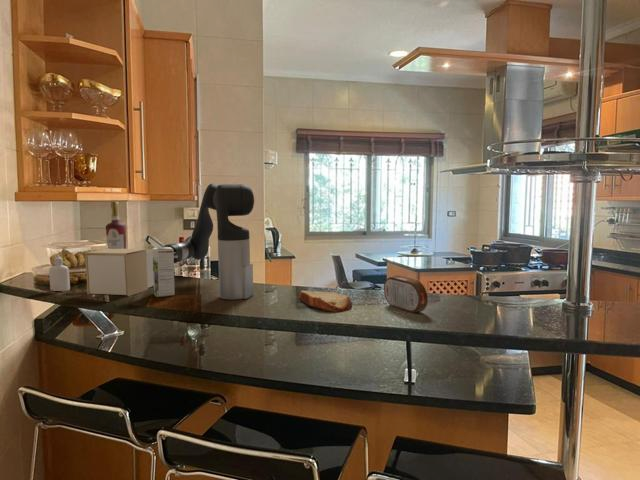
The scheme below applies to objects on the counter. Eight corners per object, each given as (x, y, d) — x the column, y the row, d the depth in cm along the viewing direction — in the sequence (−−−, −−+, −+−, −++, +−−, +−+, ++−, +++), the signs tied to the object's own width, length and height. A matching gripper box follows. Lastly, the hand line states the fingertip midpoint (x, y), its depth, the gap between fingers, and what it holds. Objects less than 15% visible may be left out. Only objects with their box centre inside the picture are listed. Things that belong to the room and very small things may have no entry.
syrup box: (153, 293, 149) (151, 247, 147) (173, 292, 151) (171, 246, 150) (155, 297, 144) (153, 249, 142) (175, 295, 146) (173, 248, 145)
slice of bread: (302, 296, 145) (302, 284, 144) (361, 299, 139) (361, 286, 139) (280, 310, 128) (279, 296, 127) (345, 314, 122) (345, 300, 122)
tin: (428, 314, 120) (428, 281, 119) (418, 316, 118) (419, 282, 117) (391, 303, 133) (391, 273, 132) (381, 304, 131) (381, 274, 130)
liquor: (131, 272, 191) (127, 201, 188) (124, 275, 183) (121, 202, 180) (112, 272, 190) (108, 201, 187) (105, 276, 183) (101, 202, 180)
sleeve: (147, 289, 156) (145, 249, 154) (128, 296, 146) (126, 253, 145) (108, 288, 159) (106, 248, 158) (87, 294, 149) (85, 252, 148)
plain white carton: (157, 284, 163) (156, 249, 161) (126, 295, 146) (124, 255, 145) (124, 283, 166) (122, 248, 164) (89, 293, 149) (87, 255, 148)
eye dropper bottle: (61, 289, 159) (59, 252, 157) (72, 290, 156) (69, 253, 155) (48, 291, 155) (46, 254, 154) (59, 293, 152) (56, 255, 151)
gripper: (158, 243, 186) (131, 248, 169) (189, 243, 183) (164, 249, 166) (159, 262, 187) (132, 269, 170) (190, 263, 184) (165, 270, 167)
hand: (148, 259), depth 168 cm, fingers closed
